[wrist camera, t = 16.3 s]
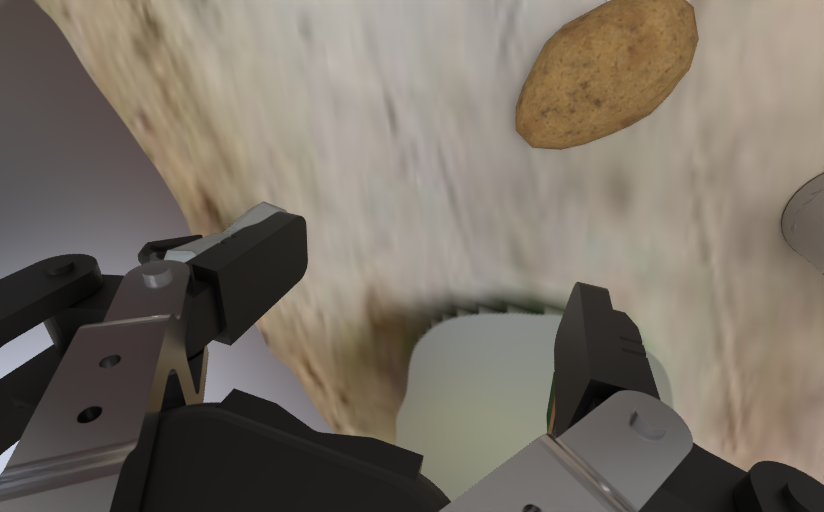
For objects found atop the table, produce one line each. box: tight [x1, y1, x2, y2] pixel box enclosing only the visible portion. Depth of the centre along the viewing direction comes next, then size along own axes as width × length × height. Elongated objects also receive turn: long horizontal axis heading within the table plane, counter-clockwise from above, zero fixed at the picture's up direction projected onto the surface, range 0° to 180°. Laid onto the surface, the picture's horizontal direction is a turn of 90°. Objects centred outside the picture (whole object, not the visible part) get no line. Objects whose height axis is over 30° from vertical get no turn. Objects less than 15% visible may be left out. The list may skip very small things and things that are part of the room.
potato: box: [516, 0, 698, 150], centre depth 32 cm, size 10×14×8 cm
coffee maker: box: [138, 202, 287, 265], centre depth 47 cm, size 15×9×18 cm, turn 75°
